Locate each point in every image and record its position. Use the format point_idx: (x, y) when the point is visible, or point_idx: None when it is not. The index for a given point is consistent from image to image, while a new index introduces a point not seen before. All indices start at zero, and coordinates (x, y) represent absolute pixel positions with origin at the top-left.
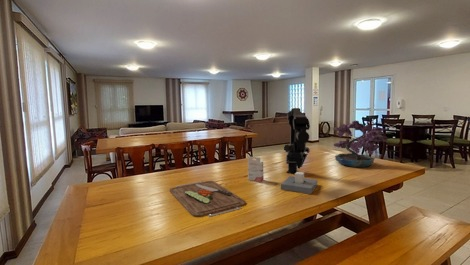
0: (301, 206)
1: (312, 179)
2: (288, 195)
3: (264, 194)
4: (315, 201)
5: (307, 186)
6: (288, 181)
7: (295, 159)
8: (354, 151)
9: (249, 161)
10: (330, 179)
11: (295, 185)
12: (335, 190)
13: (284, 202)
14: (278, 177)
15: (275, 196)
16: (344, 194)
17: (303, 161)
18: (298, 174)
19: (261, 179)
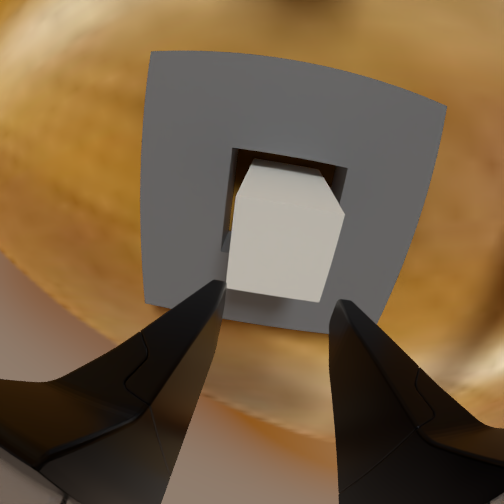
0: (12, 243)
1: (375, 308)
2: (78, 150)
3: (53, 16)
4: (80, 298)
5: (175, 281)
6: (257, 99)
7: (53, 386)
8: None
9: None
10: (457, 358)
11: (157, 188)
12: (279, 384)
13: (5, 162)
14: (477, 22)
15: (42, 85)
16: (233, 404)
17: (335, 427)
18: (231, 240)
19: None
